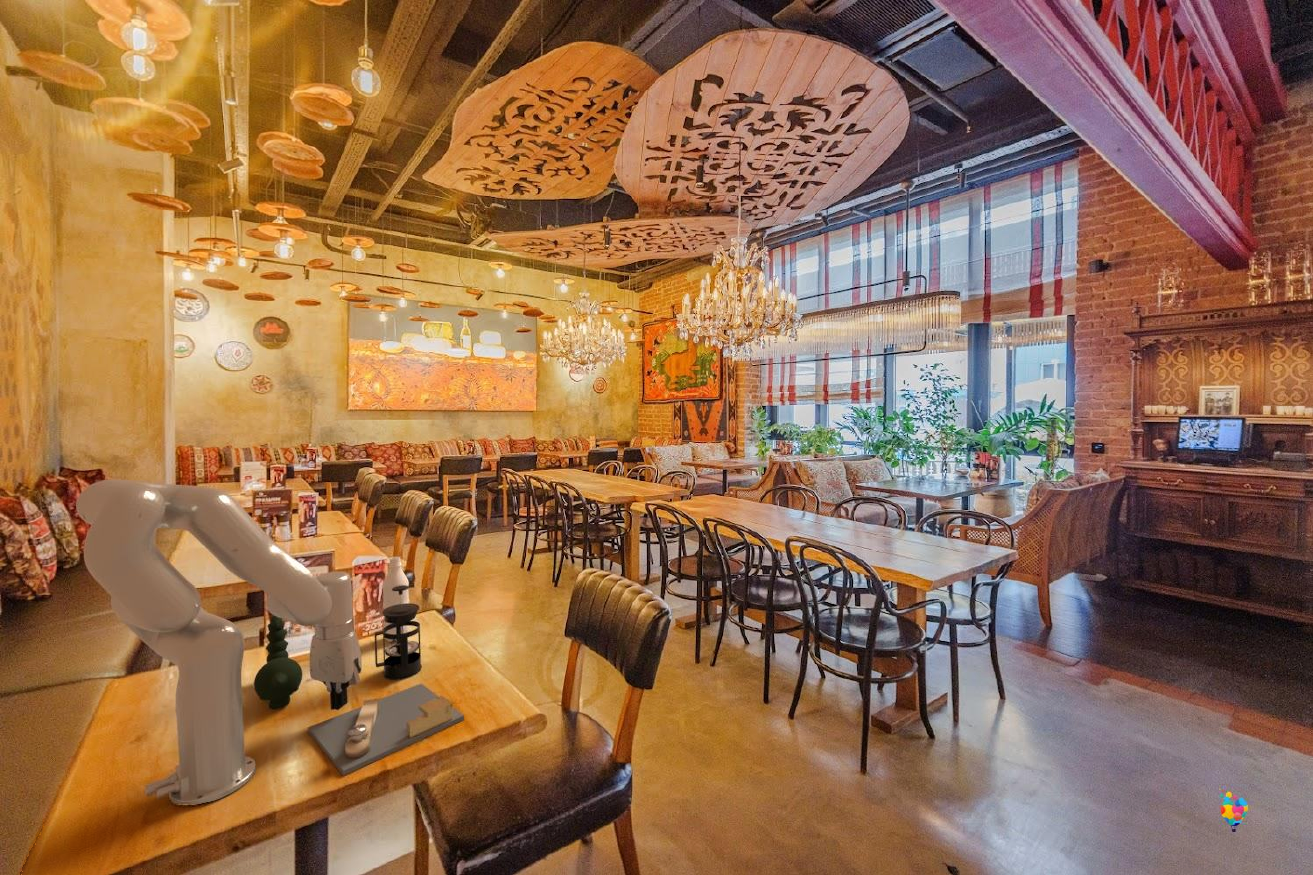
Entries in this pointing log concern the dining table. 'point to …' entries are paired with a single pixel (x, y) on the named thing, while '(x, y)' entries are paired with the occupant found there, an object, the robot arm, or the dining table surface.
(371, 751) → the charcoal board
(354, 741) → the steel pin
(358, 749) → the beech link
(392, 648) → the french press
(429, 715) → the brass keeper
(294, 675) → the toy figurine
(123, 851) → the dining table surface
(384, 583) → the water bottle
